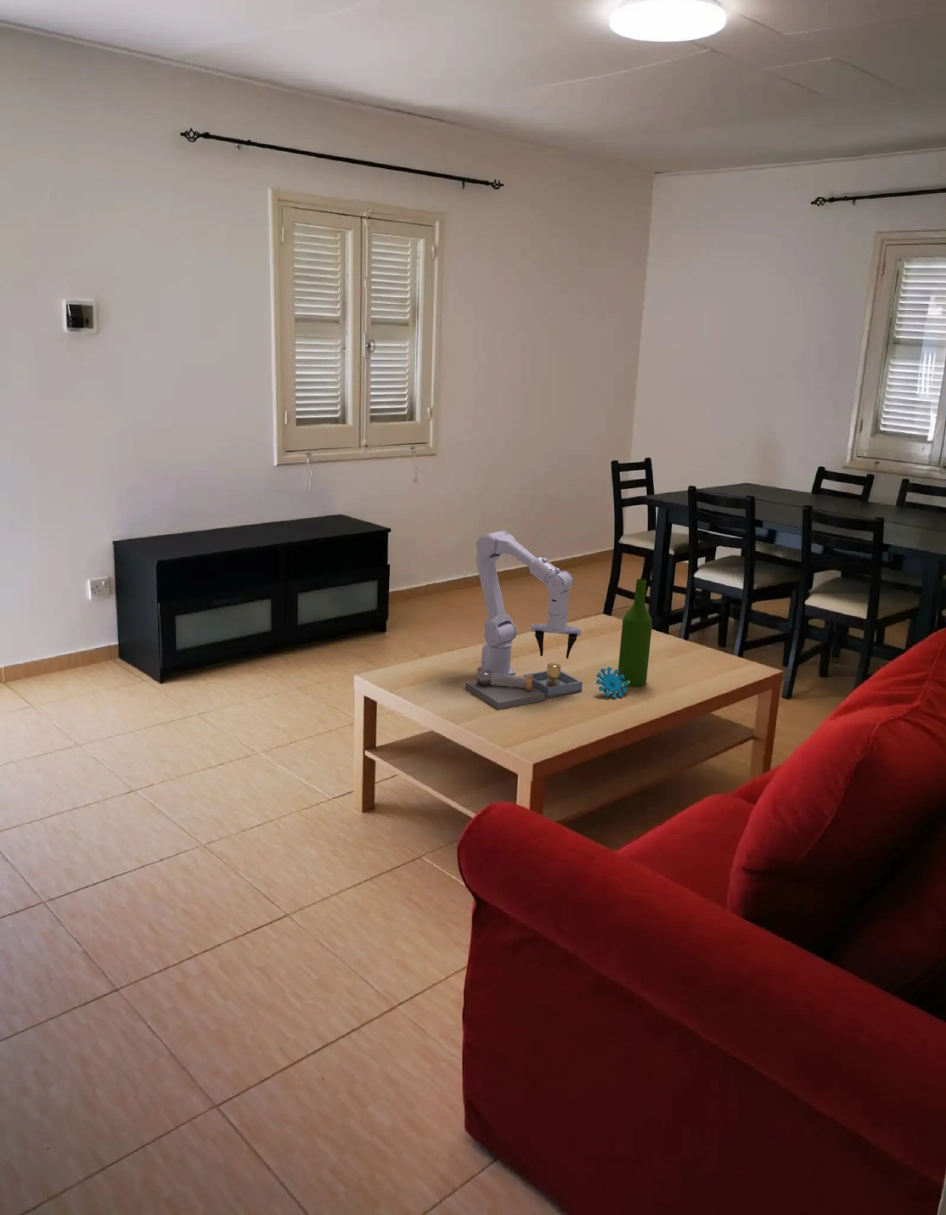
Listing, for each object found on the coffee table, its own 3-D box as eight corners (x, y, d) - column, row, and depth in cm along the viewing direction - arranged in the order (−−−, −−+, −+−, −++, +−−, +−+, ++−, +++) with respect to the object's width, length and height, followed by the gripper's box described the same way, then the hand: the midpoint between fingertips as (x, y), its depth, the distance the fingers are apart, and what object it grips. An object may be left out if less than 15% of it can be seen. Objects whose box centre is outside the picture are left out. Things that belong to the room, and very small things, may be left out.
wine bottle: (623, 674, 298) (632, 574, 289) (650, 680, 294) (660, 579, 285) (612, 682, 290) (622, 580, 281) (640, 688, 286) (650, 585, 277)
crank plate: (465, 688, 280) (465, 682, 279) (510, 680, 288) (510, 674, 288) (498, 709, 265) (499, 702, 265) (544, 700, 274) (545, 693, 273)
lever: (475, 686, 276) (476, 674, 275) (478, 679, 281) (478, 668, 280) (531, 690, 274) (531, 679, 273) (532, 684, 279) (533, 673, 278)
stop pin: (543, 684, 284) (544, 664, 283) (554, 682, 286) (555, 662, 285) (551, 688, 281) (552, 668, 279) (561, 686, 283) (563, 666, 281)
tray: (523, 683, 286) (523, 674, 285) (556, 677, 292) (557, 668, 292) (547, 697, 276) (548, 688, 275) (581, 691, 282) (582, 681, 281)
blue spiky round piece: (600, 695, 275) (595, 664, 280) (591, 703, 280) (587, 673, 285) (634, 698, 278) (629, 667, 283) (624, 706, 283) (620, 675, 288)
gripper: (532, 614, 275) (529, 658, 278) (582, 618, 273) (578, 662, 277) (534, 607, 281) (531, 650, 285) (582, 611, 280) (579, 655, 283)
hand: (554, 656), depth 281 cm, fingers open, 7 cm apart
